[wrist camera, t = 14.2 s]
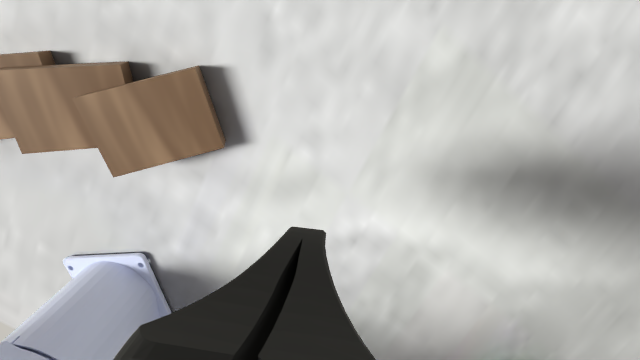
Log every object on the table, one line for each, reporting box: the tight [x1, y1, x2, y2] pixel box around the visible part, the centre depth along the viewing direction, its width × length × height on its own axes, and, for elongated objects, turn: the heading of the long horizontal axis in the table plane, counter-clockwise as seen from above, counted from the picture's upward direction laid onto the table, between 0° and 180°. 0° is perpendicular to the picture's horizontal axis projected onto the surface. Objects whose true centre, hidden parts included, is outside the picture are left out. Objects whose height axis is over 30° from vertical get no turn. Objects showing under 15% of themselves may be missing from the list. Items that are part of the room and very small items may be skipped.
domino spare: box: [72, 66, 226, 177], centre depth 21 cm, size 2×5×7 cm
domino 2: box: [0, 62, 133, 154], centre depth 22 cm, size 2×5×7 cm
